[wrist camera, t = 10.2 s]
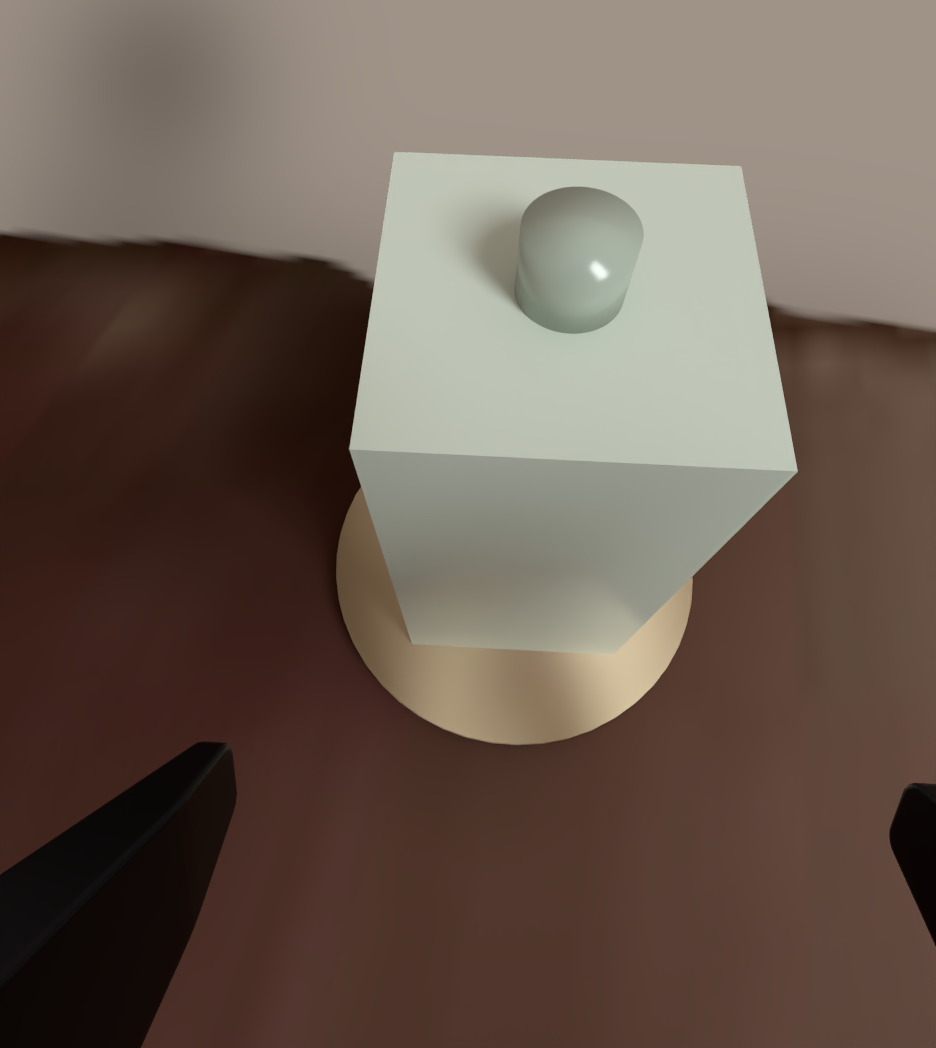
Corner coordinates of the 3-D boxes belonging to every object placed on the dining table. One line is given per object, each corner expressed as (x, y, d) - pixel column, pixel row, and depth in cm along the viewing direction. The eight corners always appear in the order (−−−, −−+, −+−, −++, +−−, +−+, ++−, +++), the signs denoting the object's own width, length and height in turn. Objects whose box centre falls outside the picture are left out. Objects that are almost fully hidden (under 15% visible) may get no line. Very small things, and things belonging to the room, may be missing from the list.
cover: (613, 655, 20) (844, 425, 8) (411, 644, 20) (333, 399, 8) (605, 477, 22) (770, 99, 10) (428, 468, 23) (387, 83, 10)
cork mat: (408, 810, 19) (406, 810, 18) (298, 478, 23) (294, 470, 22) (754, 659, 20) (762, 654, 20) (590, 379, 25) (592, 369, 24)
